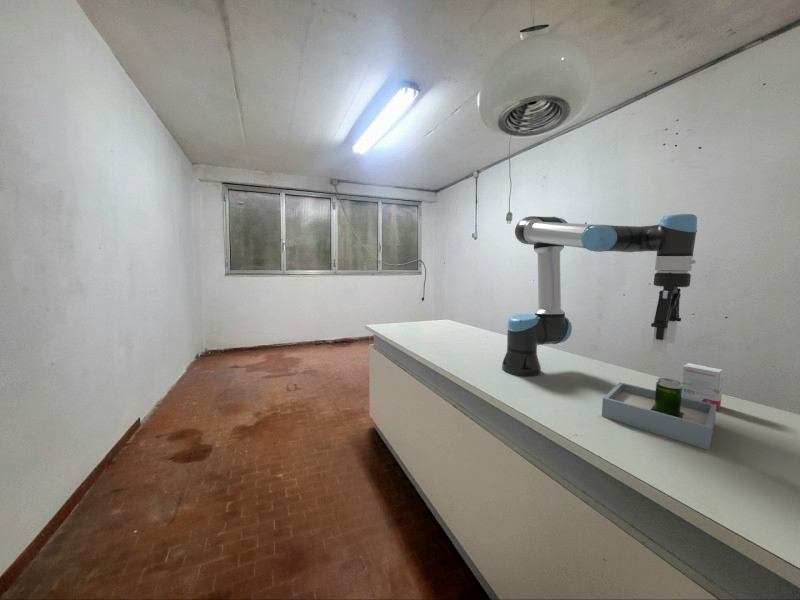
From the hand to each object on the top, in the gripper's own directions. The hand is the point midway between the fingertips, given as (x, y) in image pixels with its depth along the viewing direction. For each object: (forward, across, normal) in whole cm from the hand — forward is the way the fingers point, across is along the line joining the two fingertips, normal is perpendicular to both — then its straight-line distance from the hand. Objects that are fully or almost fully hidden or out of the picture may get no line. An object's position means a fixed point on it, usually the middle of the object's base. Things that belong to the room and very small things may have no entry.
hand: (663, 346), depth 86 cm
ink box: (+21, +20, -7) cm, 30 cm away
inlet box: (+21, -4, -1) cm, 21 cm away
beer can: (+21, -4, -3) cm, 21 cm away
